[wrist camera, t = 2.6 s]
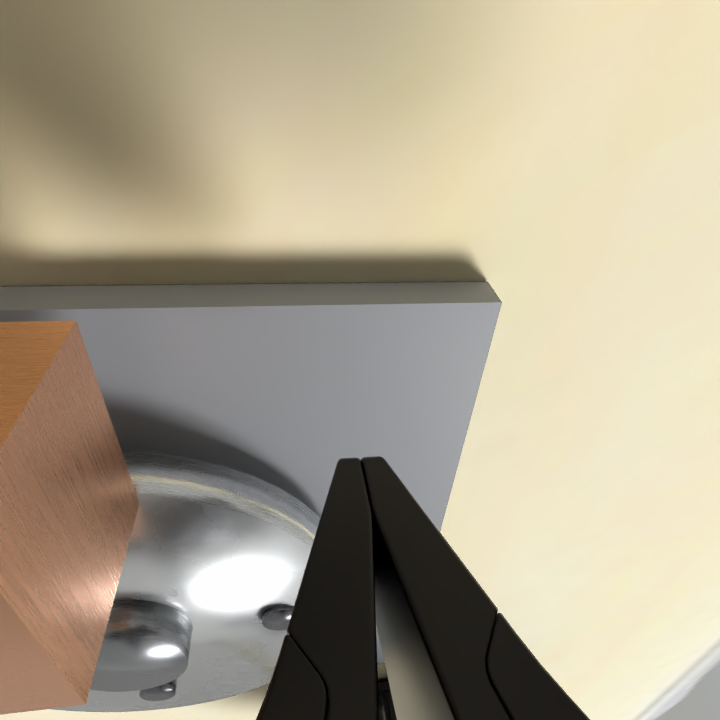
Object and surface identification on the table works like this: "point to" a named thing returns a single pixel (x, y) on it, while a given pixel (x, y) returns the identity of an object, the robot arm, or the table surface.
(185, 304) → the base board
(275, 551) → the flange plate
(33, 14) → the table surface
